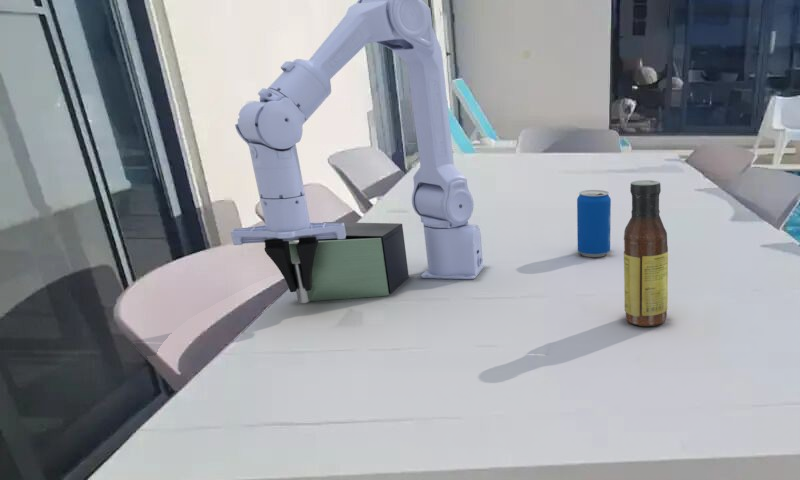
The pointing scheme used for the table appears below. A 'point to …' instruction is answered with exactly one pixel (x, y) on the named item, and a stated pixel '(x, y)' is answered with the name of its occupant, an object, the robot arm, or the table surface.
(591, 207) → the beverage can
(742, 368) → the table surface
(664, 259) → the sauce bottle
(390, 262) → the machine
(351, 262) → the machine door
